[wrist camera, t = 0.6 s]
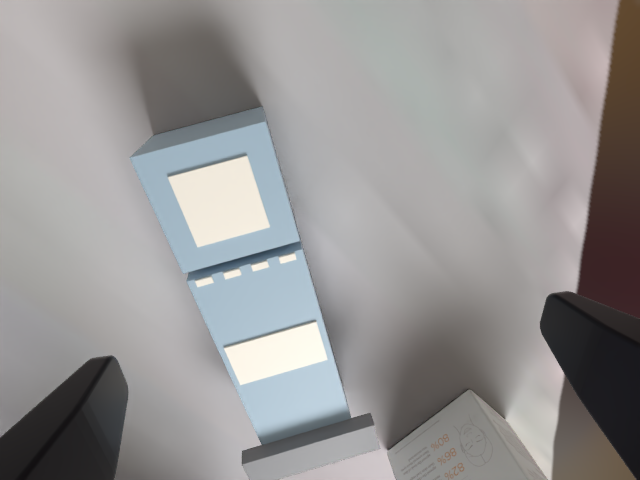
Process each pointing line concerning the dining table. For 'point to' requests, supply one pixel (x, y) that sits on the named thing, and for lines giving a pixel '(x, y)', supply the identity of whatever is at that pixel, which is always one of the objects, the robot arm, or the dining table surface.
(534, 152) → the dining table surface
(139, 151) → the light blue block
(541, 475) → the small box
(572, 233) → the dining table surface
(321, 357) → the blue notched block
